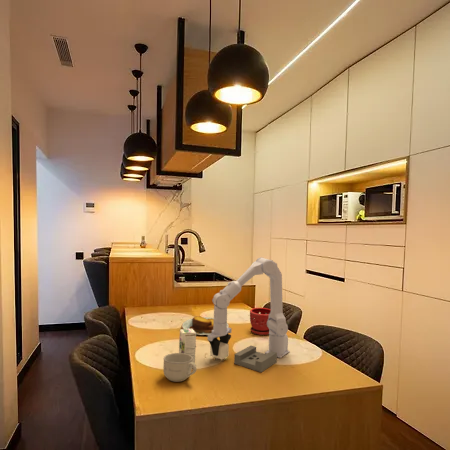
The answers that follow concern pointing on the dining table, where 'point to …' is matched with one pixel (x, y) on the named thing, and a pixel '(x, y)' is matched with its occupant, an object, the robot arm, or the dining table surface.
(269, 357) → the socket
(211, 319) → the food on plate
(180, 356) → the teacup
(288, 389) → the dining table surface
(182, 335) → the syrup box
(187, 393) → the dining table surface
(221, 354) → the cream cube
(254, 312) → the plant pot
